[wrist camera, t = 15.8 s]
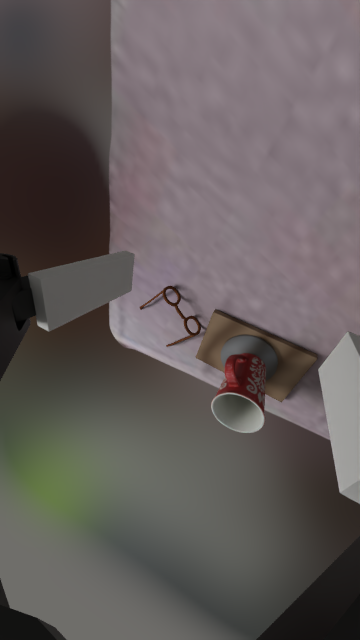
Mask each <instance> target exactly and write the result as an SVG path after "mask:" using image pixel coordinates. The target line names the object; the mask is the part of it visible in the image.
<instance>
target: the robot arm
mask: <svg viewBox="0 0 360 640" xmlns="http://www.w3.org/2000/svg"><path fill="white" fill-rule="evenodd" d="M133 266H134V254H133V253H130V252H127V251H122V252H118V253H113V254H109V255H105V256H100V257H97V258H92V259H88V260H84V261H79V262H75V263H71V264H67V265H62V266H58V267H53V268H49V269H45V270H41V271H36V272H32V273H28V276H24V277H21V275H20V270H19V266H18V261H17V258H16V257H15V256H13V255H9V254H2V253H0V380H1V378H2V376H3V374H4V372H5V371H6V369H7V367H8V365H9V363H10V361H11V359H12V358H13V356H14V354H15V352H16V350H17V348H18V346H19V345H20V342H21V341H22V339H23V337H24V335H25V333H26V332H27V330H28V328H29V326H30V317H33V316H35V315H36V318H37V324H38V326H40V327H42V328H43V329H45V330H47V331H51V330H53V329H55V328H57V327H59V326H61V325H63V324H65V323H67V322H69V321H71V320H73V319H75V318H77V317H79V316H81V315H83V314H85V313H87V312H89V311H91V310H93V309H96V308H97V307H100V306H102V305H104V304H106V303H108V302H110V301H112V300H114V299H116V298H118V297H120V296H122V295H124V294H126V293H128V292H130V291H131V289H132V277H133ZM318 371H319V377H320V382H321V388H322V394H323V400H324V405H325V411H326V417H327V422H328V428H329V434H330V439H331V445H332V451H333V457H334V462H335V468H336V474H337V479H338V485H339V491H340V493H341V494H343V495H345V496H347V497H348V498H350V499H352V500H354V501H355V502H358V503H359V504H360V336H359V335H356V334H353V333H351V332H347V333H346V334H345V336H344V337H343V338H342V339H341V341H340V342H339V343H338V345H337V346H336V347H335V349H334V350H333V351H332V352H331V354H330V355H329V356H328V358H327V359H326V360H325V361H324V363H323V364H322V365H321V367H320V368H319V369H318ZM0 640H66V639H65V638H64V637H63V635H62V634H61V633H60V632H59V631H58V630H57V629H56V628H55V627H53V626H51V625H49V624H47V623H45V622H44V621H42V620H40V619H38V618H36V617H33V616H30V615H27V614H24V613H22V612H19V611H16V610H13V609H10V607H9V604H8V601H7V598H6V595H5V592H4V589H3V586H2V583H1V580H0ZM256 640H360V536H359V537H358V538H357V539H356V540H355V541H354V542H353V543H352V544H351V545H350V546H349V547H348V548H347V549H346V550H345V551H344V552H343V553H342V554H341V555H340V556H339V557H338V558H337V559H336V560H335V561H334V562H333V563H332V564H331V565H330V566H329V567H328V568H327V569H326V570H325V571H324V572H323V573H322V574H321V575H320V576H319V577H318V578H317V579H316V580H315V581H314V582H313V583H312V584H311V585H310V586H309V587H308V588H307V589H306V590H305V591H304V592H303V593H302V594H301V595H300V596H299V597H298V598H297V599H296V600H295V601H294V602H293V603H292V604H291V605H290V606H289V607H288V608H287V609H286V610H285V611H284V613H282V614H281V615H280V617H278V618H277V619H276V620H275V621H274V623H272V624H271V625H270V626H269V628H267V629H266V630H265V631H264V632H263V633H262V635H260V637H258V638H257V639H256Z"/></svg>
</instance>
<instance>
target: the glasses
mask: <svg viewBox="0 0 360 640" xmlns="http://www.w3.org/2000/svg"><path fill="white" fill-rule="evenodd" d="M167 289H172V290H174V291H175V292H176V294H177V296H178V300H177V302H176V303H172V302H170V301H169V300H168V299H167V297H166V290H167ZM162 293H163V297H164V299H165V301H166V302H167V303H168V304H169V305H171V306H175V308H176V311H177V312H178V313H179V315H180V316H181V318H182V319H184V326H185V329H186V331H187V332H188V333H189V334H190V336H187V337H185V338H183V339H180V340H178V341H176V342H174V343H171V344H168V345H166V346H167V347H168V346H171V345H174V344H176V343H178V342H181V341H183V340H186V339H188V338H191V337H193V336H196V335H198V334H199V333H200V330H201V326H200V323H199V322H198V320H197V319H196V318H195V317H194V316H189V317H187V318H186V317H184V315H183V314H182V313H181V311H180V310H179V308H178V306H177V304H179V302H180V300H181V297H180V294H179V293H178V291H177V290H176V288H174V287H173V286H167V287H166V288H164V290H163V291H161V292H160V293H159V294H158V295H156V296H155V297H154V298H152V299H151V300H150V301H148V302H147V303H145V304H144V305H142V306H141V307H140V310H141V309H142V308H143V307H144V306H145V305H147V304H148V303H150V302H151V301H152V300H154V299H155V298H156V297H158V296H159V295H160V294H162ZM188 319H193V320H195V322H196V323H197V325H198V331H197V332H196V333H192V332H191V331H190V330H189V329H188V327H187V321H188Z"/></svg>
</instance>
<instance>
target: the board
mask: <svg viewBox="0 0 360 640" xmlns="http://www.w3.org/2000/svg"><path fill="white" fill-rule="evenodd" d="M243 353H249V354H253V355H256V356H257V357H259V358H260V359H261V360H262V361H263V362H264V364H265V366H266V381H265V394H267V395H268V396H270V397H272V398H274V399H276V400H278V401H280V402H282V401H283V400H284V399H285V397H286V396H287V395H288V394H289V393H290V391H291V390H292V389H293V388H294V387H295V385H296V384H297V383H298V382H299V381H300V379H301V378H302V377H303V376H304V375H305V373H306V372H307V371H308V370H309V369H310V367H311V366H312V365H313V364H314V362H315V361H316V360H317V359H318V358H317V354H314V353H312V352H310V351H308V350H305V349H303V348H301V347H299V346H296V345H294V344H292V343H290V342H287V341H285V340H283V339H281V338H279V337H276V336H274V335H272V334H270V333H267V332H265V331H263V330H261V329H258V328H256V327H254V326H252V325H249V324H247V323H245V322H243V321H240V320H238V319H236V318H234V317H231V316H229V315H227V314H225V313H222V312H220V311H218V310H216V309H215V310H214V312H213V314H212V317H211V319H210V322H209V324H208V327H207V330H206V332H205V335H204V337H203V340H202V342H201V345H200V348H199V350H198V353H197V355H196V358H197V359H199V360H201V361H203V362H205V363H207V364H209V365H211V366H213V367H214V368H216V369H218V370H220V371H222V372H224V373H225V363H226V360H227V358H228V357H229V356H231V355H235V354H243Z"/></svg>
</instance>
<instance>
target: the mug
mask: <svg viewBox="0 0 360 640" xmlns="http://www.w3.org/2000/svg"><path fill="white" fill-rule="evenodd" d="M265 381H266V366H265V364H264V362H263V361H262V360H261V359H260V358H259V357H257V356H256V355H253V354H249V353H243V354H235V355H231V356H229V357H228V358H227V360H226V363H225V378H224V380H223V382H222V384H221V386H220V388H219V391H218V393H217V395H216V396H215V397H214V399H213V400H212V403H211V409H212V412H213V414H214V416H215V417H216V418H217V420H218V421H219V422H221V423H222V424H223V425H224V426H226V427H228V428H230V429H232V430H234V431H237V432H242V433H252V432H256V431H258V430H260V429H261V428H262V427H263V425H264V423H265V415H264V405H265Z"/></svg>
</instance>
